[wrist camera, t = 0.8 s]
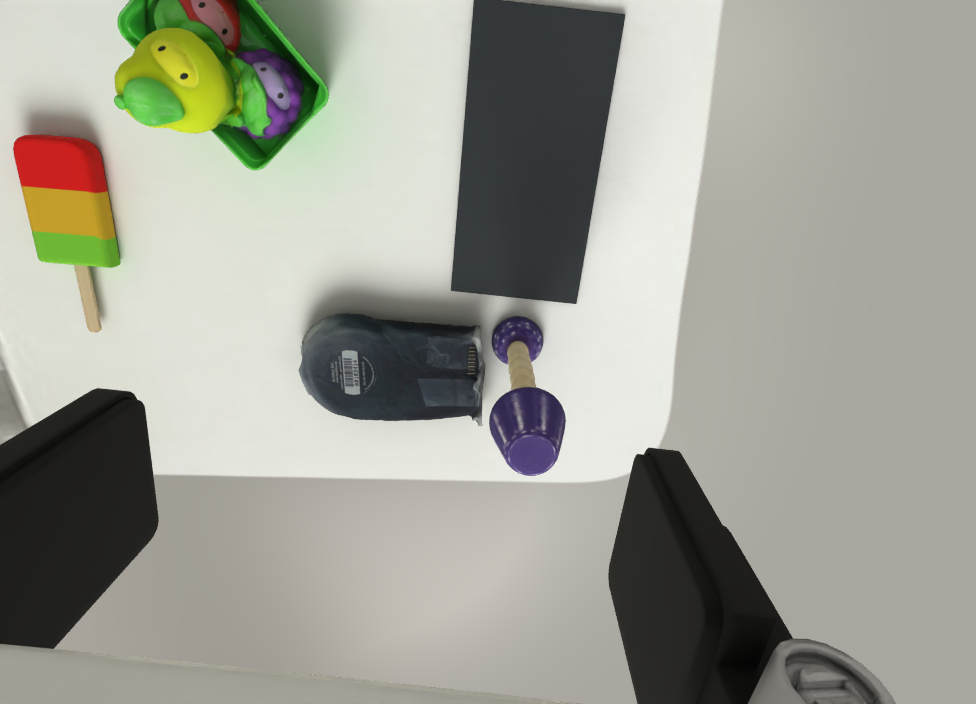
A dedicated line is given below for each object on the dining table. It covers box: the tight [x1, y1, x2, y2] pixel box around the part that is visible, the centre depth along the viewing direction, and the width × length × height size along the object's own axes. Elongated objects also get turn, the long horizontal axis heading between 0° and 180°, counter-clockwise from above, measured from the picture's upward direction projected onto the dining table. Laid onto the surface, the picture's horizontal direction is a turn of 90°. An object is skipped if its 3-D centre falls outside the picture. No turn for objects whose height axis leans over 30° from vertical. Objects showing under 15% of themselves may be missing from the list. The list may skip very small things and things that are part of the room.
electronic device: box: [299, 314, 485, 426], centre depth 45 cm, size 9×6×15 cm
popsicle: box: [13, 135, 120, 332], centre depth 42 cm, size 6×15×2 cm, turn 176°
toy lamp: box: [489, 317, 566, 476], centre depth 38 cm, size 5×5×17 cm
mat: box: [451, 0, 625, 304], centre depth 40 cm, size 20×10×1 cm, turn 174°
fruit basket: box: [114, 0, 329, 170], centre depth 33 cm, size 11×9×11 cm
